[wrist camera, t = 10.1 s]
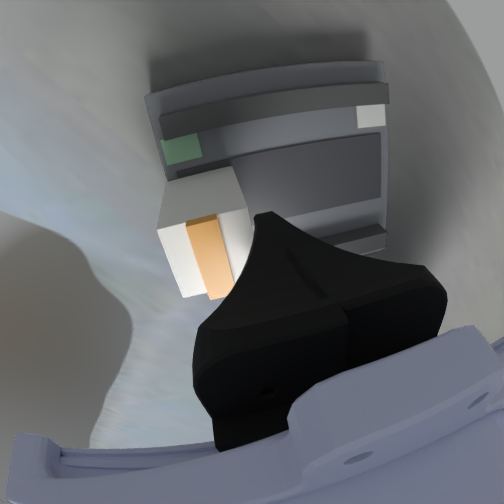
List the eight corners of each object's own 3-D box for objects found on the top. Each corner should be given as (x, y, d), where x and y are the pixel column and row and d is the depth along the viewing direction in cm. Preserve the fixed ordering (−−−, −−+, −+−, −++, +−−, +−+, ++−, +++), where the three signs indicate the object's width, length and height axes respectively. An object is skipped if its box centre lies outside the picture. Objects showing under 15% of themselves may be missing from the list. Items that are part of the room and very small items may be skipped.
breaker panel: (369, 233, 20) (391, 258, 17) (203, 273, 19) (206, 307, 17) (363, 60, 13) (395, 62, 11) (150, 93, 13) (140, 98, 10)
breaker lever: (244, 224, 15) (264, 287, 11) (184, 238, 15) (184, 306, 11) (231, 164, 13) (249, 211, 10) (166, 181, 13) (154, 235, 9)
